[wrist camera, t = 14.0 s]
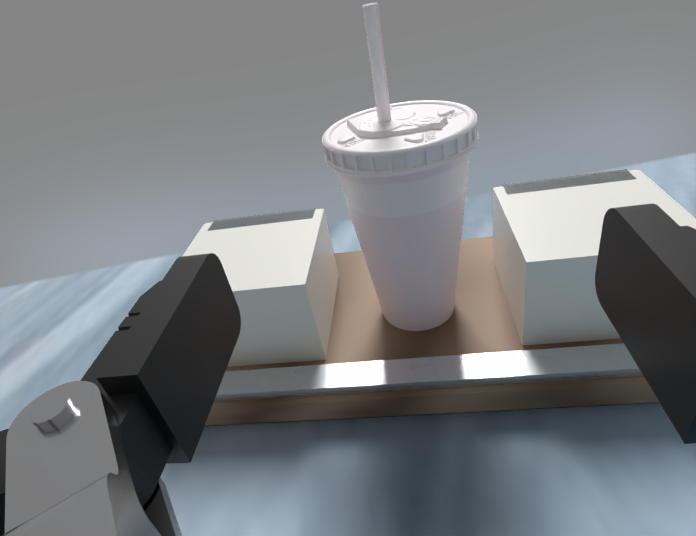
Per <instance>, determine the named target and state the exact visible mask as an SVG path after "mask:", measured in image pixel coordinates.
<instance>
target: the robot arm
mask: <svg viewBox="0 0 696 536" xmlns="http://www.w3.org/2000/svg"><path fill="white" fill-rule="evenodd" d="M595 288H596V293H597V297H598V300H599V303H600V305H601V306H602V308H603V310H604V311H605V313H606V315H607V316H608V318H609V320H610V321H611V323H612V325H613V326H614V328H615V330H616V331H617V333H618V334H619V336H620V338H621V339H622V341H623V343H624V344H625V346H626V348H627V349H628V351H629V353H630V354H631V356H632V358H633V359H634V361H635V362H636V364H637V366H638V367H639V369H640V371H641V372H642V374H643V376H644V377H645V379H646V381H647V382H648V384H649V385H650V387H651V389H652V390H653V392H654V394H655V395H656V397H657V399H658V400H659V402H660V404H661V405H662V407H663V409H664V410H665V412H666V413H667V415H668V417H669V418H670V420H671V422H672V423H673V425H674V427H675V428H676V430H677V432H678V433H679V435H680V437H681V438H682V440H683V441H684V443H685V444H688V443H696V229H694V228H692V227H690V226H679V225H678V224H677V223H676V222H675V221H674V220H673V219H672V218H671V217H670V216H669V215H667V214H666V213H665V212H664V211H663V210H662V209H661V208H660V207H659V206H658V205H656V204H652V203H651V204H642V205H634V206H625V207H616V208H610V209H608V210H607V212H606V214H605V216H604V220H603V225H602V232H601V239H600V245H599V252H598V258H597V265H596V272H595ZM128 314H129V317H125V319H124V320H123V322H122V323H121V324H120V326H119V327H118V328H119V331H115V333H114V334H113V336H112V337H111V339H110V340H109V341H108V343H107V344H106V346H105V347H104V348H103V350H102V351H101V353H100V354H99V355H98V357H97V358H96V360H95V361H94V362H93V364H92V365H91V367H90V368H89V369H88V371H87V372H86V374H85V375H84V376H83V378H82V379H81V381H74V382H70V383H66V384H63V385H60V386H58V387H55V388H53V389H51V390H49V391H47V392H46V393H44V394H42V395H41V396H39V397H38V398H36V399H35V400H34V401H32V402H31V403H30V404H29V405H28V406H26V407H25V408H24V409H23V410H22V411H21V412H20V413H19V414H18V416H17V417H16V418H15V420H14V421H13V423H12V424H11V426H10V428H9V429H6V430H3V431H0V536H182V534H181V531H180V528H179V525H178V522H177V519H176V516H175V513H174V510H173V507H172V504H171V501H170V498H169V495H168V492H167V489H166V486H165V484H164V482H163V481H162V479H161V478H160V476H161V474H162V472H163V469H164V467H165V465H166V463H188V462H191V460H192V457H193V455H194V452H195V449H196V447H197V444H198V442H199V439H200V436H201V434H202V431H203V429H204V426H205V423H206V421H207V418H208V415H209V413H210V410H211V408H212V405H213V402H214V400H215V397H216V395H217V392H218V389H219V387H220V384H221V381H222V379H223V376H224V374H225V371H226V368H227V366H228V363H229V361H230V358H231V355H232V353H233V350H234V347H235V345H236V342H237V340H238V337H239V334H240V329H241V316H240V311H239V307H238V305H237V302H236V299H235V297H234V294H233V292H232V289H231V287H230V284H229V281H228V279H227V276H226V274H225V271H224V269H223V266H222V263H221V261H220V259H219V258H218V256H217V255H216V254H214V253H209V254H200V255H191V256H183V257H179V258H178V259H177V260H176V261H175V262H174V264H173V265H172V267H171V268H170V270H169V271H168V273H167V274H166V276H165V277H164V279H163V280H162V281H159V282H158V283H157V284H155V285H154V286H153V287H152V288H150V289H149V290H148V291H147V292H145V293H144V294H143V295H142V296H140V298H139V299H138V301H137V302H136V303H135V305H134V306H133V308H132V309H131V310H130V312H129V313H128Z"/></svg>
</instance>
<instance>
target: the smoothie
mask: <svg viewBox="0 0 696 536" xmlns="http://www.w3.org/2000/svg"><path fill="white" fill-rule="evenodd" d="M363 13H364V21H365V28H366V35H367V42H368V50H369V58H370V65H371V72H372V79H373V87H374V94H375V101H376V107H375V108H371V109H367V110H364V111H361V112H358V113H355V114H352V115H350V116H348V117H346V118H343V119H341V120H340V121H338V122H336V123H334V124H333V125H332V126H331V127H329V128H328V129H327V131H326V132H325V133H324V135H323V137H322V142H323V146H324V151H325V161H326V164H327V165H328V166H329V167H330V168H331V169H332V170H334V171H336V172H337V175H338V179H339V182H340V185H341V188H342V192H343V195H344V198H345V201H346V203H347V206H348V209H349V212H350V215H351V218H352V221H353V224H354V227H355V230H356V233H357V236H358V239H359V242H360V245H361V248H362V251H363V254H364V258H365V261H366V264H367V267H368V270H369V273H370V276H371V279H372V282H373V285H374V288H375V291H376V294H377V297H378V300H379V303H380V306H381V309H382V312H383V315H384V317H385V319H386V320H387V321H388V322H389V323H390V324H391V325H393V326H395V327H397V328H400V329H403V330H408V331H423V330H428V329H432V328H435V327H437V326H439V325H441V324H443V323H444V322H446V321H447V320H448V319H449V318H450V317H451V315H452V313H453V311H454V303H455V294H456V284H457V274H458V264H459V254H460V245H461V235H462V225H463V215H464V205H465V196H466V187H467V177H468V166H469V153H470V152H471V151H472V150H473V149H475V147H476V145H477V143H478V141H479V135H478V131H477V115H476V113H475V112H474V110H472V109H471V108H469V107H468V106H465V105H462V104H460V103H455V102H449V101H439V100H438V101H437V100H423V101H409V102H401V103H395V104H389V95H388V86H387V79H386V69H385V61H384V53H383V44H382V36H381V28H380V20H379V11H378V3H371V4H366V5H363Z"/></svg>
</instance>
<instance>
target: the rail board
mask: <svg viewBox="0 0 696 536" xmlns="http://www.w3.org/2000/svg"><path fill="white" fill-rule="evenodd" d="M651 203H652V204H656V205H658V206H659V207H660V208H661V209H662V210H663V211H664V212H665V213H666V214H667V215H669V216H670V217H671V218H672V219H673V220H674V221H675V222H676V223H677V224H678V225H679V226H690V227H692V228H694V229H696V219H695V218H694V217H693V216H692V215H691V214H690V213H689V212H687V211H686V210H685V209H684V208H683V207H682V206H680V205H679V204H678V203H677V202H676V201H675V200H674V199H672V198H671V197H670V196H669V195H668V194H667V193H665V192H664V191H663V190H662V189H661V188H660V187H659V186H657V185H656V184H655V183H654V182H653V181H652V180H650V179H649V178H648V177H647V176H646V175H645V174H644V173H642V172H641V171H640V170H631V171H628V170H627V169H625V170H617V171H609V172H601V173H593V174H585V175H576V176H568V177H560V178H552V179H544V180H536V181H529V182H521V183H512V184H504V185H502V187H494V188H493V237H484V238H475V239H465V240H461V245H460V254H459V264H458V274H457V284H456V294H455V303H454V311H453V313H452V315H451V317H450V318H449V319H448V320H447V321H446V322H444V323H443V324H441V325H439V326H437V327H435V328H432V329H428V330H423V331H408V330H403V329H400V328H397V327H395V326H393V325H391V324H390V323H389V322H388V321H387V320H386V319H385V317H384V315H383V312H382V309H381V306H380V303H379V300H378V297H377V294H376V291H375V288H374V285H373V282H372V279H371V276H370V273H369V270H368V267H367V264H366V261H365V258H364V254H363V251H354V252H345V253H336V254H334V251H333V247H332V242H331V238H330V233H329V229H328V224H327V220H326V215H325V211H324V209H316V208H311V209H304V210H296V211H288V212H281V213H280V212H279V213H272V214H263V215H256V216H248V217H239V218H232V219H223V220H215V221H213V222H212V223H205V224H204V225H203V226H202V228H201V229H200V231H199V232H198V234H197V235H196V237H195V239H194V240H193V242H192V243H191V244H190V246H189V247H188V249H187V250H186V252H185V253H184V255H183V256H191V255H200V254H209V253H214V254H216V255H217V256H218V258H219V259H220V261H221V263H222V266H223V269H224V271H225V274H226V276H227V279H228V281H229V284H230V287H231V289H232V292H233V294H234V297H235V299H236V302H237V305H238V307H239V311H240V316H241V329H240V334H239V337H238V340H237V342H236V345H235V347H234V350H233V353H232V355H231V358H230V361H229V363H228V366H227V368H226V371H225V374H224V376H223V379H222V381H221V384H220V387H219V389H218V392H217V395H216V397H215V400H214V402H213V405H212V408H211V410H210V413H209V415H208V418H207V421H206V423H205V426H209V425H228V424H247V423H267V422H286V421H305V420H324V419H344V418H363V417H382V416H402V415H421V414H440V413H459V412H479V411H498V410H517V409H536V408H556V407H575V406H594V405H613V404H633V403H652V402H659V400H658V399H657V397H656V395H655V394H654V392H653V390H652V389H651V387H650V385H649V384H648V382H647V381H646V379H645V377H644V376H643V374H642V372H641V371H640V369H639V367H638V366H637V364H636V362H635V361H634V359H633V358H632V356H631V354H630V353H629V351H628V349H627V348H626V346H625V344H624V343H623V341H622V339H621V338H620V336H619V334H618V333H617V331H616V330H615V328H614V326H613V325H612V323H611V321H610V320H609V318H608V316H607V315H606V313H605V311H604V310H603V308H602V306H601V305H600V303H599V300H598V297H597V293H596V288H595V272H596V265H597V258H598V252H599V245H600V239H601V232H602V225H603V220H604V216H605V214H606V212H607V210H608V209H610V208H616V207H625V206H634V205H642V204H651ZM183 256H182V257H183Z"/></svg>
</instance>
